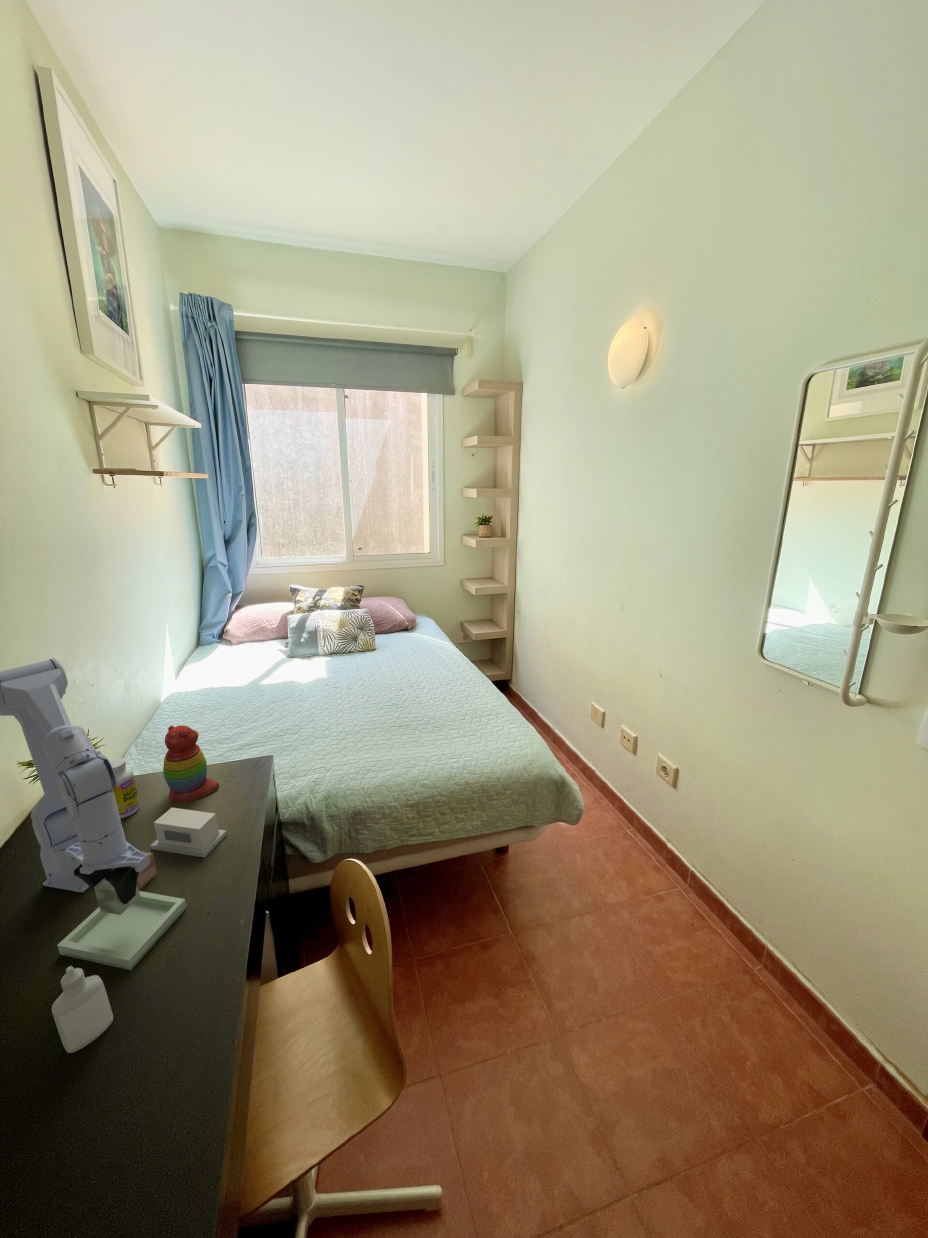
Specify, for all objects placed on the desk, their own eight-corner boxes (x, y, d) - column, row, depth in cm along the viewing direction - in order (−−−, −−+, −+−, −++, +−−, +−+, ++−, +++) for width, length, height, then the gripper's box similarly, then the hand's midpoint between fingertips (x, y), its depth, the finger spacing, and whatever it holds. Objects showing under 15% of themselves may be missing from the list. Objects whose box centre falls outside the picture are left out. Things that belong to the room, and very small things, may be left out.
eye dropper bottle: (110, 1039, 69) (90, 973, 65) (60, 1059, 66) (37, 992, 63) (116, 1009, 72) (98, 946, 69) (69, 1027, 70) (48, 963, 67)
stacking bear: (222, 787, 125) (211, 724, 120) (181, 809, 117) (167, 742, 112) (200, 774, 131) (189, 713, 126) (160, 793, 123) (146, 729, 118)
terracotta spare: (122, 886, 95) (117, 865, 93) (139, 871, 98) (134, 850, 97) (140, 889, 94) (135, 868, 92) (157, 873, 98) (152, 853, 96)
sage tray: (60, 954, 81) (57, 945, 80) (122, 896, 92) (120, 887, 92) (131, 970, 78) (128, 960, 78) (186, 908, 89) (184, 899, 89)
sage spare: (100, 911, 82) (93, 887, 81) (121, 892, 86) (115, 869, 85) (120, 915, 82) (114, 890, 80) (140, 895, 85) (134, 872, 84)
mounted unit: (151, 849, 104) (145, 825, 102) (176, 827, 111) (171, 804, 109) (204, 857, 101) (199, 833, 100) (227, 834, 108) (222, 811, 106)
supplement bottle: (128, 820, 113) (116, 771, 109) (100, 820, 113) (87, 772, 110) (147, 802, 119) (136, 755, 116) (120, 802, 120) (108, 755, 116)
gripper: (38, 841, 77) (60, 910, 81) (115, 853, 74) (134, 924, 78) (81, 812, 84) (98, 877, 88) (153, 822, 81) (168, 889, 85)
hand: (117, 897), depth 83 cm, fingers closed on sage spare, 4 cm apart
